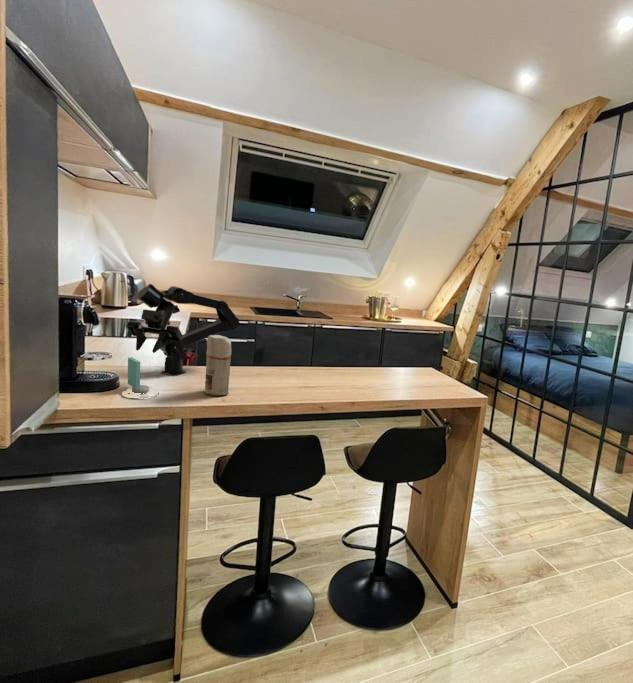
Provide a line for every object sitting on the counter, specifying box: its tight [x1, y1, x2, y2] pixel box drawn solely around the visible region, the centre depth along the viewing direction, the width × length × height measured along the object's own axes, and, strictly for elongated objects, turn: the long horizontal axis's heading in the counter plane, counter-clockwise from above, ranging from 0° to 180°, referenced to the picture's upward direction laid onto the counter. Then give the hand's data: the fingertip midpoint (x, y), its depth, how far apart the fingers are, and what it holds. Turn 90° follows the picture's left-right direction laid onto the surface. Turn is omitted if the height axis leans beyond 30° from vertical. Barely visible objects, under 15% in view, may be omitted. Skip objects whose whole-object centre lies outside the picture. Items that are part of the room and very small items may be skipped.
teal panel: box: [127, 356, 149, 393], centre depth 130 cm, size 11×5×9 cm, turn 47°
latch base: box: [128, 386, 160, 398], centre depth 129 cm, size 11×11×1 cm
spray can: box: [203, 334, 232, 397], centre depth 135 cm, size 8×8×20 cm
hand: (145, 351), depth 136 cm, fingers open, 6 cm apart
